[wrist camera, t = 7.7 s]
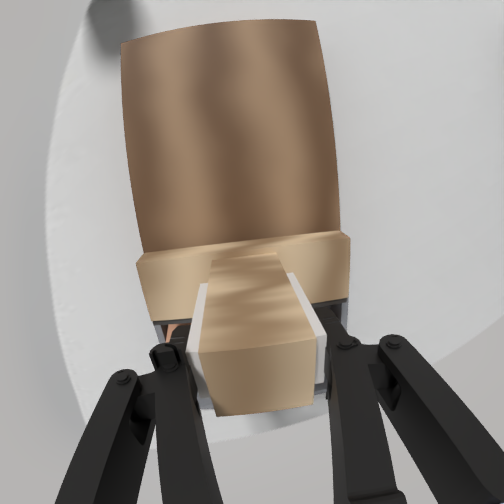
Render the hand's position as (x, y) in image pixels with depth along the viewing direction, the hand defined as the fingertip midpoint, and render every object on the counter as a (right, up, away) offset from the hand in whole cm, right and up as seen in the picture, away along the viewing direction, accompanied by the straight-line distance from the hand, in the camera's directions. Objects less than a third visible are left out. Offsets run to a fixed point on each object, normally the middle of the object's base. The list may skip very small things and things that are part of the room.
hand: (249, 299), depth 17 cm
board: (-2, +10, +6) cm, 12 cm away
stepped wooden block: (0, +1, +3) cm, 4 cm away
